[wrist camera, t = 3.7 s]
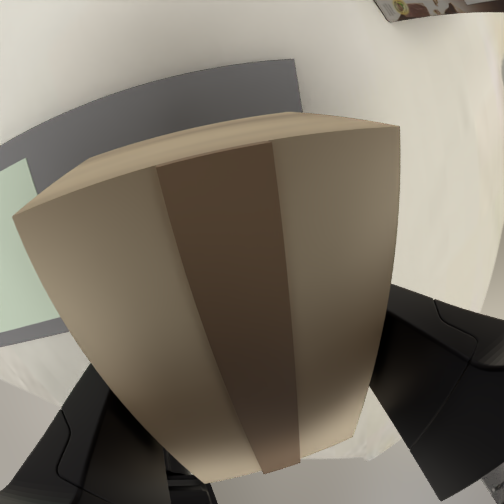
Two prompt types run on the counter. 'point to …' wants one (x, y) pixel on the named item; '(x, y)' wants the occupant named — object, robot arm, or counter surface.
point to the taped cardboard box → (229, 280)
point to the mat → (109, 138)
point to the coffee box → (434, 7)
